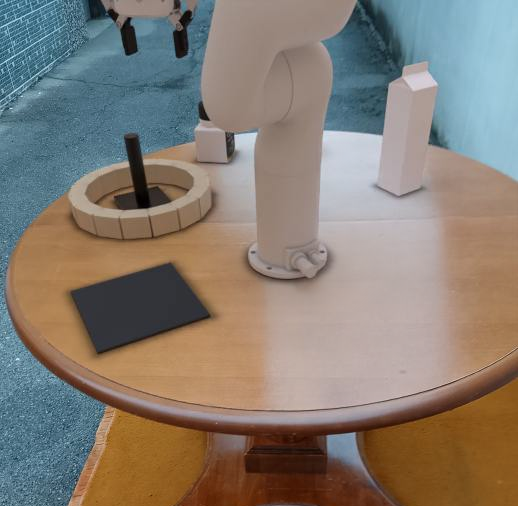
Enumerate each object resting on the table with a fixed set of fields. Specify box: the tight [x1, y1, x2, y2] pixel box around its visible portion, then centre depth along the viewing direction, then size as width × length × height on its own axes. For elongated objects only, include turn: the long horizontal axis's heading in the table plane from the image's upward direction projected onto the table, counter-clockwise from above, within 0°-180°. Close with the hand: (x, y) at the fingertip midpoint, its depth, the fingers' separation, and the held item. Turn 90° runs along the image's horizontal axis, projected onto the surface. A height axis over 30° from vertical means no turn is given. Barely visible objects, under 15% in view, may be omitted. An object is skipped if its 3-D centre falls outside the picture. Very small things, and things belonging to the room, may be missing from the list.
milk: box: [376, 61, 439, 197], centre depth 98 cm, size 6×6×22 cm
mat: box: [70, 262, 211, 355], centre depth 78 cm, size 16×16×1 cm
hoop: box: [67, 158, 213, 240], centre depth 101 cm, size 26×26×4 cm
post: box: [113, 132, 173, 210], centre depth 98 cm, size 9×9×13 cm
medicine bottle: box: [193, 100, 236, 164], centre depth 116 cm, size 7×7×12 cm
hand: (156, 55), depth 90 cm, fingers open, 9 cm apart
